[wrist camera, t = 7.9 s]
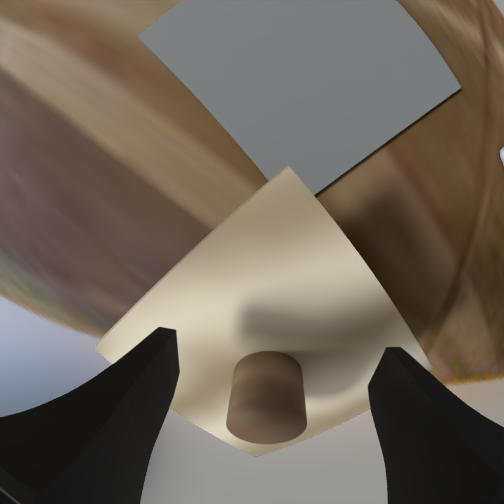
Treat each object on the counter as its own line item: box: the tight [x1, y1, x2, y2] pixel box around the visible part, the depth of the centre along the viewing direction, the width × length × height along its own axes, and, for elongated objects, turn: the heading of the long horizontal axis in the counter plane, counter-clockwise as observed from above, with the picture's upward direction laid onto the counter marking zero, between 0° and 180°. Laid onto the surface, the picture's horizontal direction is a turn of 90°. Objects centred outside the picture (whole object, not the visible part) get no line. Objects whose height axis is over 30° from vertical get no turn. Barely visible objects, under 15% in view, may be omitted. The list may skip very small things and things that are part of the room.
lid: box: [95, 165, 433, 457], centre depth 11 cm, size 13×13×4 cm
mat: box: [138, 0, 461, 195], centre depth 13 cm, size 16×16×1 cm
